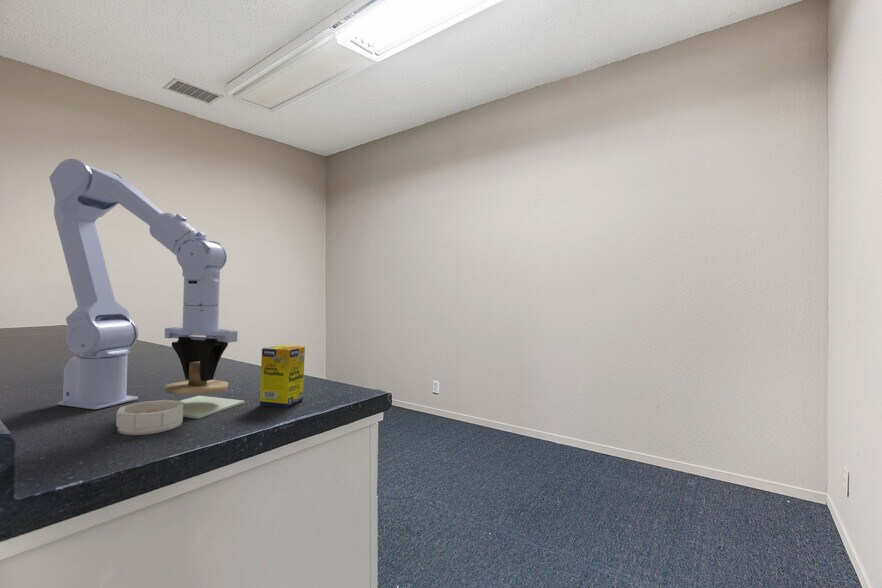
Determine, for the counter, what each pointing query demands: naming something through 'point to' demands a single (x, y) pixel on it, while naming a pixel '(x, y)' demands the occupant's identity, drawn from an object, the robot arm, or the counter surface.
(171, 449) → the counter surface
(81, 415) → the counter surface
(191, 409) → the mat
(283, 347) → the supplement box
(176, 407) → the bowl
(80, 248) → the robot arm
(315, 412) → the counter surface
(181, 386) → the lid
